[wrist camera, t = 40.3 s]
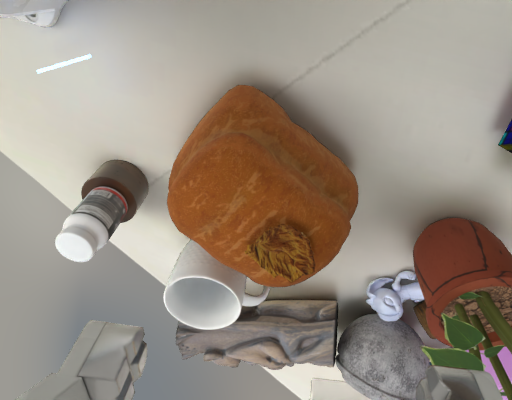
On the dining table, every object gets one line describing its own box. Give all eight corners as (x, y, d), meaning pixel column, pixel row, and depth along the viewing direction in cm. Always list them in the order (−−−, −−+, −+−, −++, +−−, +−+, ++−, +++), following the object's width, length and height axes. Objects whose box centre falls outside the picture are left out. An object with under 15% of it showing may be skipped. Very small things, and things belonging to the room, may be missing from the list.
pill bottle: (112, 224, 54) (78, 272, 46) (81, 197, 52) (40, 243, 44) (137, 206, 52) (106, 253, 43) (106, 177, 49) (67, 222, 41)
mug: (283, 235, 58) (279, 298, 47) (262, 280, 64) (255, 345, 54) (193, 208, 57) (169, 266, 46) (181, 256, 63) (156, 318, 52)
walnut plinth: (102, 201, 58) (87, 220, 54) (93, 157, 54) (75, 173, 50) (151, 206, 58) (139, 226, 54) (145, 162, 53) (132, 180, 49)
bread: (246, 62, 44) (220, 112, 30) (365, 169, 50) (390, 251, 36) (170, 157, 52) (122, 231, 38) (280, 238, 58) (274, 327, 45)
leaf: (287, 210, 35) (286, 221, 33) (327, 257, 37) (327, 268, 36) (237, 238, 38) (233, 248, 36) (276, 279, 40) (275, 290, 39)
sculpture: (344, 388, 55) (169, 379, 59) (338, 357, 68) (193, 351, 72) (342, 310, 56) (169, 306, 60) (336, 293, 68) (193, 290, 72)
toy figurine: (453, 312, 57) (379, 335, 59) (434, 284, 63) (367, 306, 64) (447, 283, 54) (369, 308, 56) (427, 255, 59) (357, 279, 61)
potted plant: (507, 202, 50) (781, 530, 22) (472, 280, 59) (636, 589, 30) (378, 197, 52) (474, 496, 23) (363, 274, 61) (420, 561, 32)
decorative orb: (437, 420, 50) (402, 429, 62) (451, 324, 58) (417, 348, 70) (334, 370, 54) (320, 388, 66) (360, 287, 61) (343, 316, 74)
